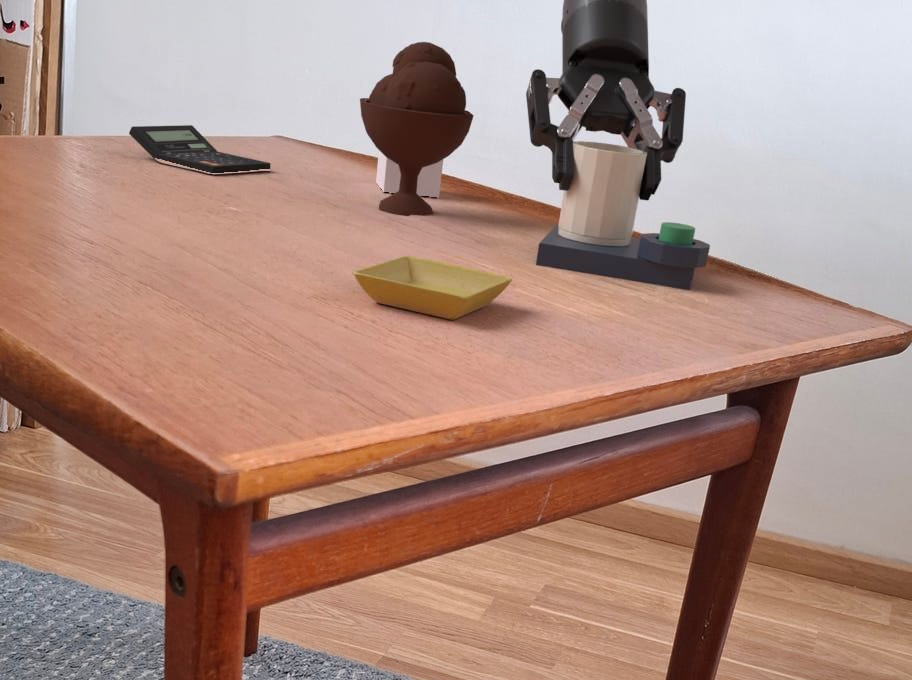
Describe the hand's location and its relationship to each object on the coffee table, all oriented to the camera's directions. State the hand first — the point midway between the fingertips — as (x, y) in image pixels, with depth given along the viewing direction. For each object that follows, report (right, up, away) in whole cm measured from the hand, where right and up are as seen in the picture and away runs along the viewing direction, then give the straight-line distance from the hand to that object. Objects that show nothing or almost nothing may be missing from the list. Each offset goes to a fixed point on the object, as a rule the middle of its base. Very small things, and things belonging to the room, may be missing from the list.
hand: (607, 189), depth 105 cm
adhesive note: (-18, +10, +28) cm, 35 cm away
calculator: (-40, +13, +28) cm, 50 cm away
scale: (+1, -6, +3) cm, 7 cm away
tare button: (+5, -5, -2) cm, 8 cm away
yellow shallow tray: (-15, -15, -18) cm, 28 cm away
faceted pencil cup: (-1, -3, +3) cm, 5 cm away
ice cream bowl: (-17, +4, +17) cm, 24 cm away
